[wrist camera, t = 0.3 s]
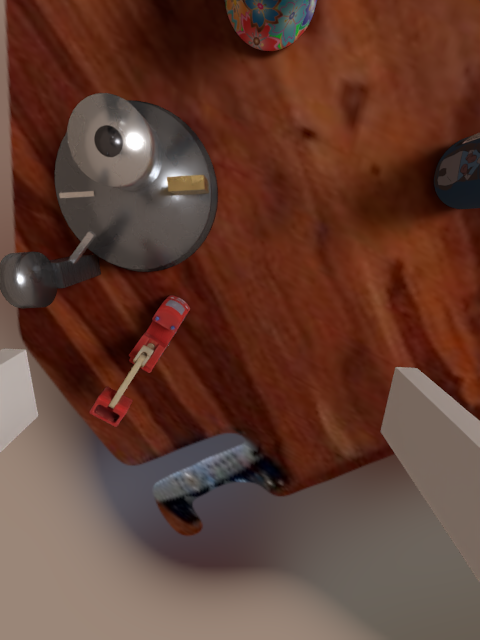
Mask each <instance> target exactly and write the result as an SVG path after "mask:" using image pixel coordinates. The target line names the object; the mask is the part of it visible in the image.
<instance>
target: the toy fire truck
mask: <svg viewBox="0 0 480 640" xmlns="http://www.w3.org/2000/svg"><path fill="white" fill-rule="evenodd" d="M189 310H190V307H189V306H188V304H187V303H186V302H185V301H183V300H182V299H180V298H178V297H176V296H172V295H170V296H169V297H167V298H166V300H164V301H163V303H162V304H161V306H160V307H159V309H158V310H157V312H156V313H155V315H154V317H153V318H152V320H153V321H152V323H151V325H150V326H149V328H148V329H147V331H146V332H145V333H144V334H143V336H142V337H141V338H140V340H139V341H138V343H137V344H136V346H135V347H134V348H133V350H132V351H131V353H130V354H129V356H130V357H131V358H130V359H129V361H130V362H131V363H133V364H134V366H133V367H132V369H131V371H130V372H129V374H128V375H127V377H126V379H125V380H124V382H123V383H122V385H121V387H120V388H119V390H118V391H117V392H116V391H115V390H113V389H111V388H109V387H106V388H105V389H104V390H103V392H102V393H101V394H100V396H99V397H98V398H97V400H96V402H95V403H94V405H93V407H92V409H91V410H90V412H89V413H90V414H92V415H94V416H96V417H98V418H100V419H102V420H104V421H106V422H107V423H109V424H111V425H113V426H115V427H117V425H118V424H119V423H120V421H121V420H122V418H123V417H124V415H125V414H126V412H127V411H128V409H129V407H130V405H131V403H132V401H133V400H131V399H130V398H127V397H125V396H124V395H123V393H124V392H125V390H126V388H127V387H128V385H129V384H130V382H131V380H132V379H133V377H134V376H135V374H136V372H137V371H138V369H139V368H141V369H143V370H145V371H147V372H149V373H150V372H151V371H152V369H153V367H154V366H155V364H156V363H157V361H158V360H159V358H160V357H161V355H162V354H163V352H164V350H165V349H166V348H167V346H168V345H169V343H170V341H171V339H172V337H173V336H174V334H175V333H176V331H177V329H178V328H179V326H180V324H181V323H182V322H183V320H184V319H185V317H186V316H187V313H188V312H189Z"/></svg>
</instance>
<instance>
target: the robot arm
mask: <svg viewBox="0 0 480 640" xmlns="http://www.w3.org/2000/svg"><path fill="white" fill-rule="evenodd" d="M37 417H38V413H37V407H36V401H35V396H34V390H33V385H32V380H31V375H30V369H29V364H28V358H27V353H26V350H25V349H2V350H0V452H1V451H2V450H3V449H4V448H5V447H6V446H7V445H8V444H9V443H11V442H12V441H13V440H14V439H15V438H16V437H17V436H18V435H19V434H20V433H21V432H22V431H23V430H24V429H25V428H26V427H27V426H28V425H29V424H30V423H31V422H32V421H33V420H34V419H36V418H37ZM381 433H382V434H383V436H384V438H385V439H386V441H387V442H388V444H389V445H390V447H391V448H392V450H393V451H394V453H395V454H396V456H397V457H398V459H399V460H400V462H401V463H402V465H403V466H404V468H405V470H406V471H407V473H408V474H409V476H410V477H411V479H412V480H413V481H414V483H415V485H416V486H417V488H418V489H419V491H420V492H421V494H422V495H423V497H424V499H425V500H426V501H427V503H428V505H429V506H430V508H431V509H432V511H433V512H434V514H435V515H436V517H437V518H438V520H439V521H440V523H441V524H442V526H443V528H444V529H445V531H446V532H447V534H448V535H449V537H450V538H451V540H452V541H453V543H454V544H455V545H456V547H457V549H458V550H459V552H460V553H461V555H462V557H463V558H464V559H465V561H466V563H467V564H468V566H469V567H470V569H471V570H472V572H473V573H474V574H475V576H476V578H477V579H478V581H479V582H480V421H479V420H478V419H476V418H475V417H474V416H473V415H472V414H471V413H469V412H468V411H467V410H466V409H465V408H463V407H462V406H461V405H460V404H459V403H458V402H456V401H455V400H454V399H453V398H452V397H450V396H449V395H448V394H447V393H446V392H445V391H443V390H442V389H441V388H440V387H439V386H437V385H436V384H435V383H434V382H433V381H432V380H430V379H429V378H428V377H427V376H426V375H424V374H423V373H422V372H421V371H420V370H419V369H417V368H404V367H395V372H394V376H393V380H392V385H391V389H390V393H389V398H388V402H387V406H386V411H385V415H384V419H383V424H382V428H381Z"/></svg>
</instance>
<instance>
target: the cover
mask: <svg viewBox="0 0 480 640" xmlns="http://www.w3.org/2000/svg"><path fill="white" fill-rule="evenodd" d="M67 137H68V145H69V148H70V152H71V154H72V157H73V159H74V161H75V162H76V164H77V165H78V167H79V168H80V169H81V170H82V172H84V173H85V174H86V175H87V176H88V177H89V178H91V179H92V180H94V181H96V182H98V183H100V184H103V185H107V186H110V187H114V188H118V189H121V190H125V191H138V190H141V189H144V188H146V187H147V186H149V185H150V184H151V183H153V181H154V180H155V179H156V178H157V176H158V174H159V172H160V170H161V167H162V162H163V150H162V145H161V142H160V139H159V137H158V135H157V133H156V131H155V130H154V128H153V127H152V126H151V125H150V124H149V123H148V122H147V120H146V119H145V118H144V117H143V116H142V115H141V114H140V113H139V112H138V111H137V110H136V109H135V108H134V107H133V106H132V105H131V104H130V103H129V102H128V101H126V100H124V99H123V98H121V97H119V96H116V95H113V94H108V93H99V94H94V95H91V96H89V97H87V98H85V99H84V100H82V101H81V102H80V103H79V104H78V105H77V106H76V107H75V109H74V110H73V112H72V114H71V117H70V119H69V123H68V130H67Z"/></svg>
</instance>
